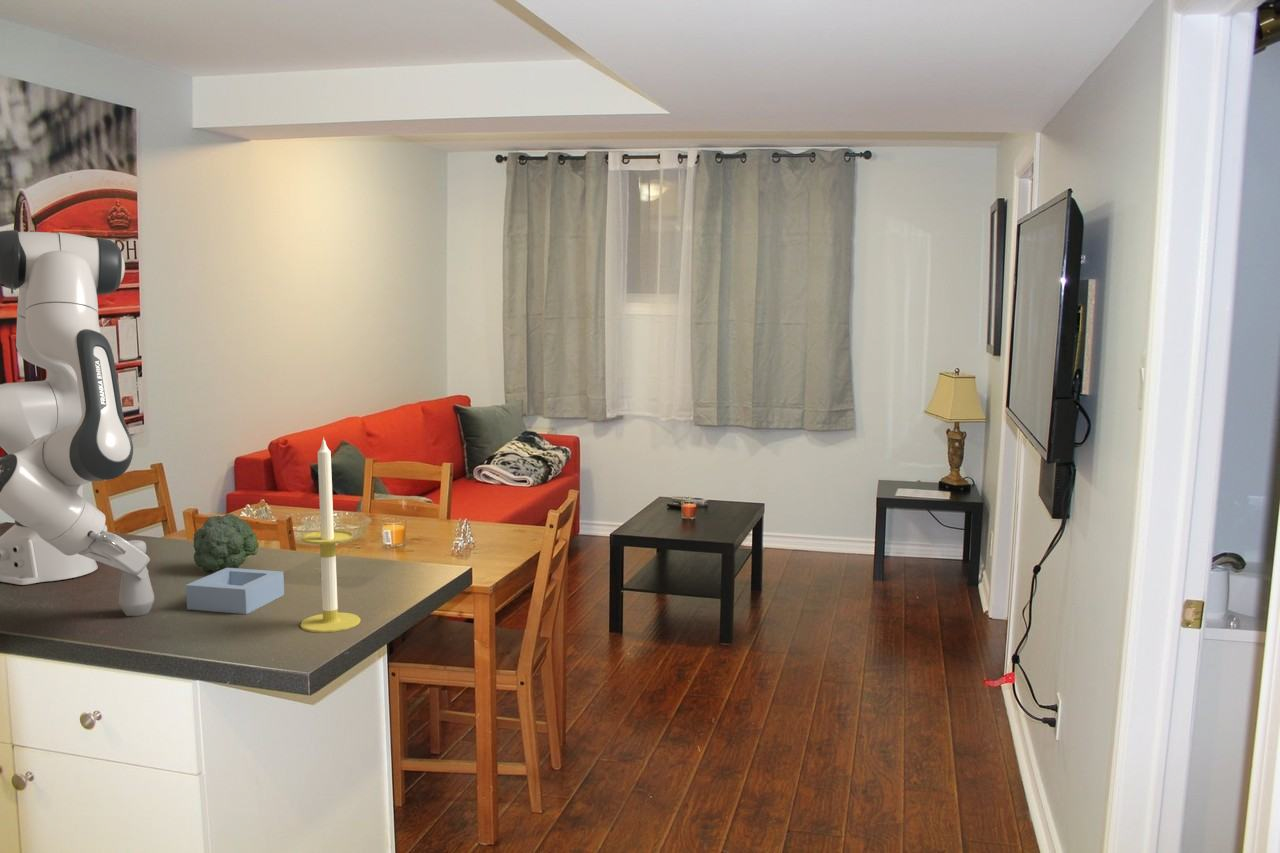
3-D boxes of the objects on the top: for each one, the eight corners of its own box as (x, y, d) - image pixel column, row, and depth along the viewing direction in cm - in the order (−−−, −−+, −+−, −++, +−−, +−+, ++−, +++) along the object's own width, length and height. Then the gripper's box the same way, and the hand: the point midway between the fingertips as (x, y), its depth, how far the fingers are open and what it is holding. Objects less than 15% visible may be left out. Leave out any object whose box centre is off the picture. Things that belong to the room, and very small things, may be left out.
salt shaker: (119, 610, 184) (114, 539, 182) (155, 605, 187) (150, 536, 185) (118, 619, 179) (113, 547, 177) (155, 615, 181) (150, 543, 180)
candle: (287, 627, 175) (279, 438, 171) (327, 611, 184) (320, 431, 180) (334, 635, 171) (326, 442, 167) (372, 618, 180) (366, 434, 176)
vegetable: (283, 550, 219) (253, 534, 204) (238, 595, 216) (204, 582, 202) (247, 513, 222) (214, 495, 208) (202, 557, 219) (166, 542, 205)
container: (187, 609, 185) (185, 585, 184) (228, 590, 197) (226, 567, 196) (246, 614, 182) (245, 589, 182) (284, 594, 194) (283, 571, 193)
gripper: (119, 522, 169) (179, 568, 177) (63, 505, 181) (122, 548, 190) (92, 554, 166) (155, 599, 175) (38, 534, 178) (99, 577, 187)
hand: (138, 572), depth 182 cm, fingers closed on salt shaker, 3 cm apart
